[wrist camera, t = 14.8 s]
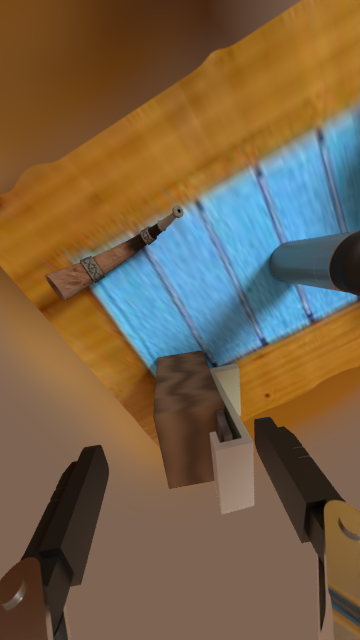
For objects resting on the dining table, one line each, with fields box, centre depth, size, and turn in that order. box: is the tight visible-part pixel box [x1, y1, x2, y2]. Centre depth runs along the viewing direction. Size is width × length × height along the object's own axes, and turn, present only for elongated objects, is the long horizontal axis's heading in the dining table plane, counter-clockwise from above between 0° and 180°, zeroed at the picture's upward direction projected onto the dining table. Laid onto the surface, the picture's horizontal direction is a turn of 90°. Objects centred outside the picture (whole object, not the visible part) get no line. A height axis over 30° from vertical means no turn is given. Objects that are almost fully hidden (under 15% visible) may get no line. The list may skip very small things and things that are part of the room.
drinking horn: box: [45, 205, 183, 301], centre depth 38 cm, size 6×30×10 cm, turn 119°
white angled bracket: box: [209, 364, 254, 514], centre depth 39 cm, size 12×14×20 cm
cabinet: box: [153, 351, 233, 489], centre depth 42 cm, size 12×18×25 cm, turn 7°
